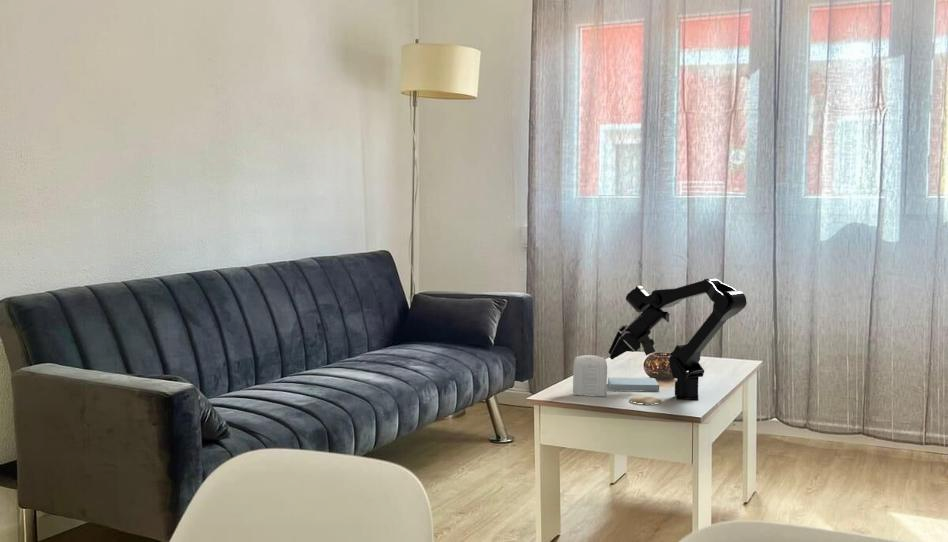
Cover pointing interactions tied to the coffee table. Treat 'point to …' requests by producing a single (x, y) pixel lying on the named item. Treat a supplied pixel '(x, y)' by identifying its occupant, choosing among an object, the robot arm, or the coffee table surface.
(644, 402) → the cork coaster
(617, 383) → the pale blue flat block
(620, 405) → the coffee table surface
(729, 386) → the coffee table surface
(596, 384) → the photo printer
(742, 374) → the coffee table surface
